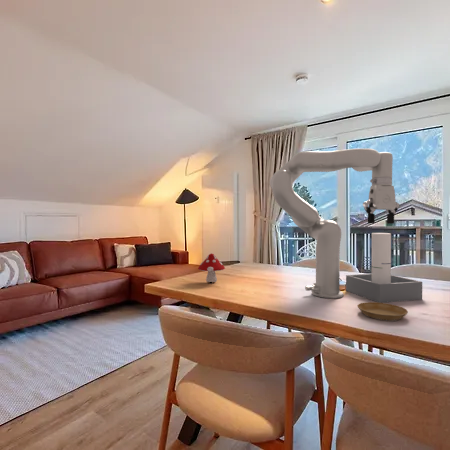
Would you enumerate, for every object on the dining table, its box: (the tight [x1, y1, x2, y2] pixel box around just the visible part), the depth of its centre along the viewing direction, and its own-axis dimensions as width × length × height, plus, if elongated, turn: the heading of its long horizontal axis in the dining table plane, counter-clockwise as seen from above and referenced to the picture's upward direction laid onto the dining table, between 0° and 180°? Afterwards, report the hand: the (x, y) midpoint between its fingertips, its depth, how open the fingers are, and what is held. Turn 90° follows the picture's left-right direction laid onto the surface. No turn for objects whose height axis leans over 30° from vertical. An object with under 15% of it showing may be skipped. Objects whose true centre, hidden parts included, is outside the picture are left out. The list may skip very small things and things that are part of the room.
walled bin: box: [345, 273, 423, 303], centre depth 123 cm, size 20×20×7 cm
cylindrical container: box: [371, 232, 392, 284], centre depth 123 cm, size 7×7×25 cm
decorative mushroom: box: [197, 253, 226, 283], centre depth 148 cm, size 14×14×15 cm
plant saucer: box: [356, 301, 409, 322], centre depth 97 cm, size 15×15×3 cm
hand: (380, 223), depth 123 cm, fingers open, 9 cm apart
